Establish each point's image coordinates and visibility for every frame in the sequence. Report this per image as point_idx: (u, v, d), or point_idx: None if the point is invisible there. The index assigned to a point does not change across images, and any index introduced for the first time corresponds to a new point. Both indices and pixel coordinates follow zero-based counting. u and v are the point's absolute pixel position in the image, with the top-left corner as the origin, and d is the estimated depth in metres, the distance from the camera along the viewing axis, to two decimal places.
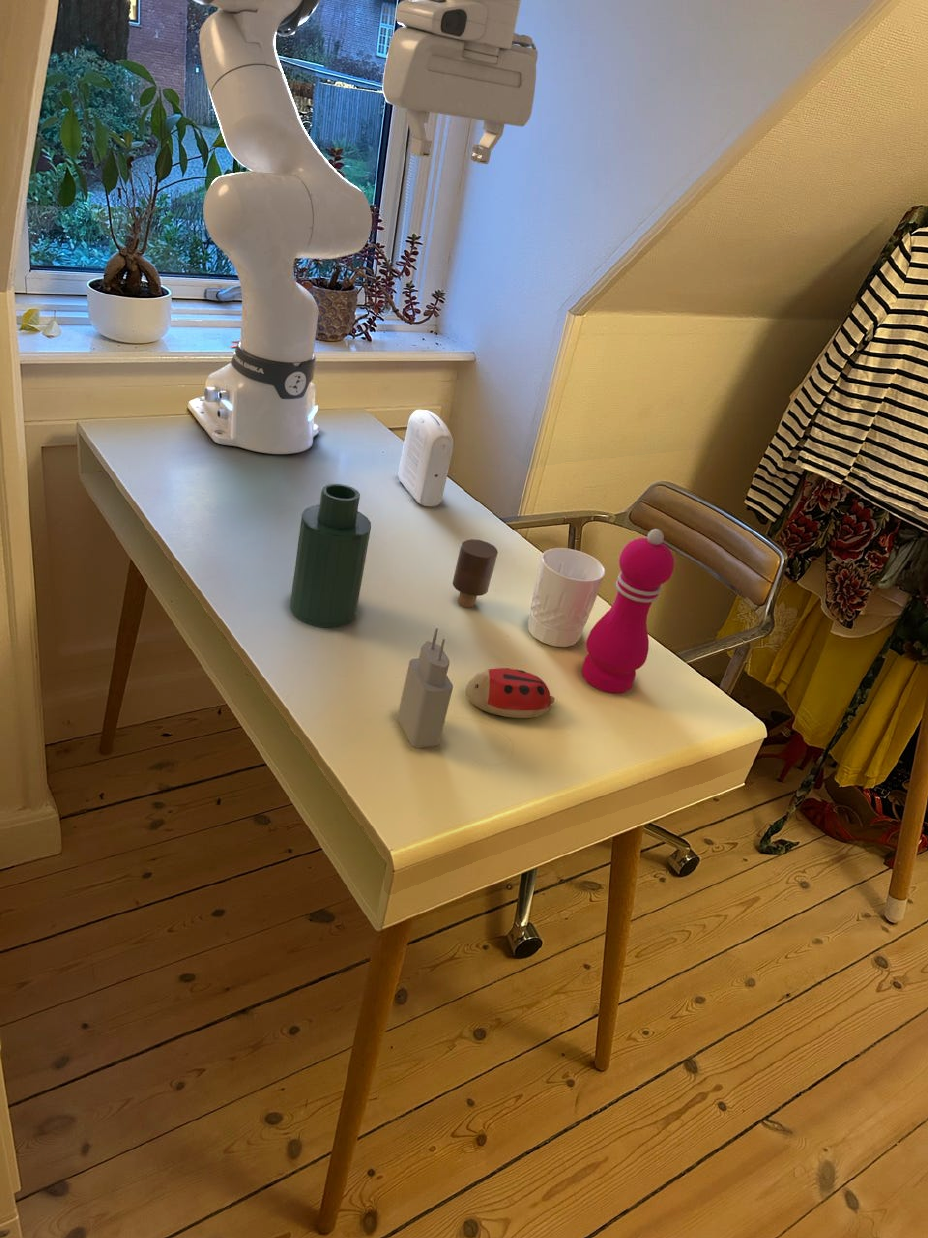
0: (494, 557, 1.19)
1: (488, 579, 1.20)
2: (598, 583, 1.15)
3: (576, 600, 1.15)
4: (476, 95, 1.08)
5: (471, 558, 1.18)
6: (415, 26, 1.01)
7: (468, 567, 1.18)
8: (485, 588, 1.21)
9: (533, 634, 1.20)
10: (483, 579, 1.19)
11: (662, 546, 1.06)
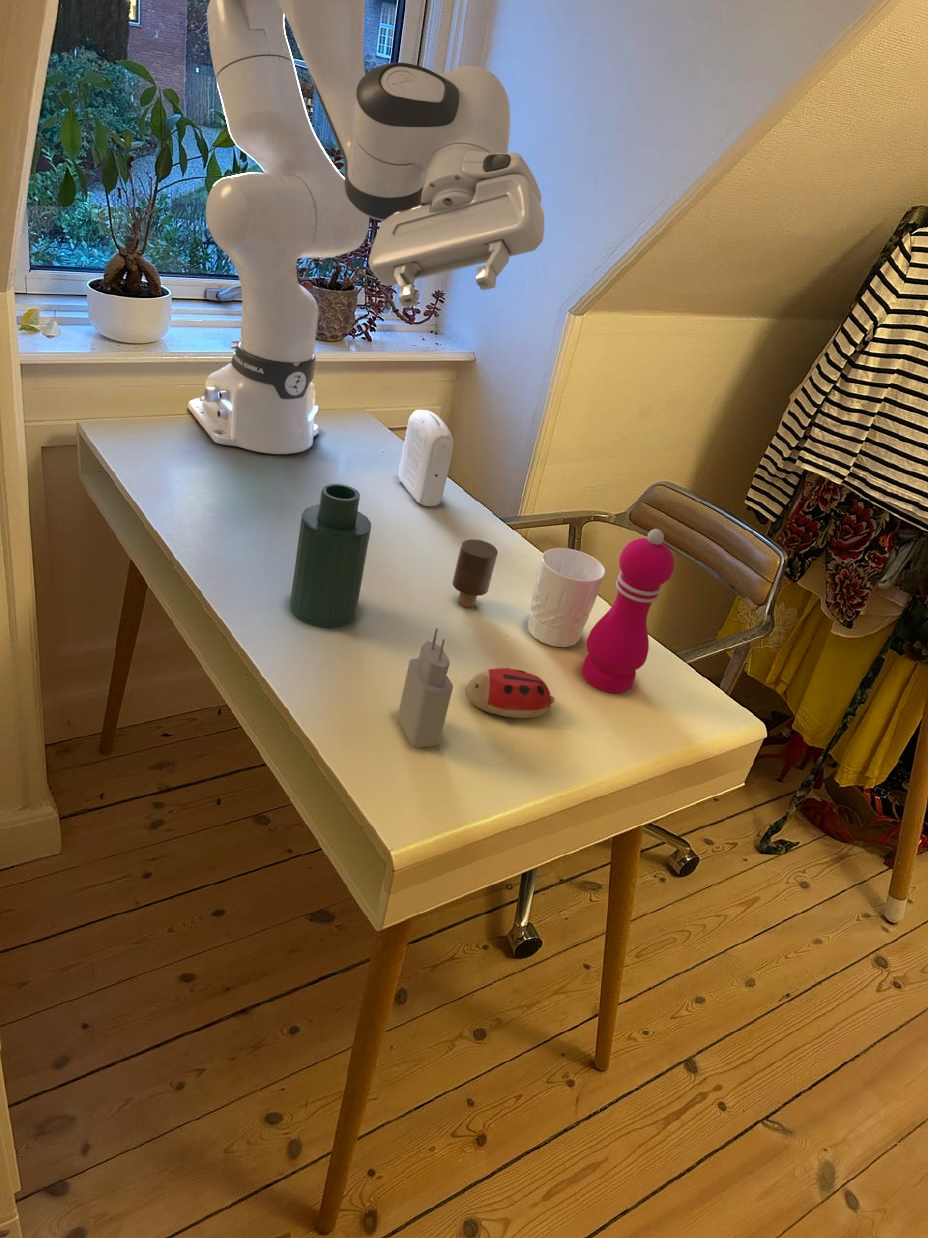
0: (494, 557, 1.19)
1: (488, 579, 1.20)
2: (598, 583, 1.15)
3: (576, 600, 1.15)
4: None
5: (471, 558, 1.18)
6: (531, 189, 1.05)
7: (468, 567, 1.18)
8: (485, 588, 1.21)
9: (533, 634, 1.20)
10: (483, 579, 1.19)
11: (662, 546, 1.06)
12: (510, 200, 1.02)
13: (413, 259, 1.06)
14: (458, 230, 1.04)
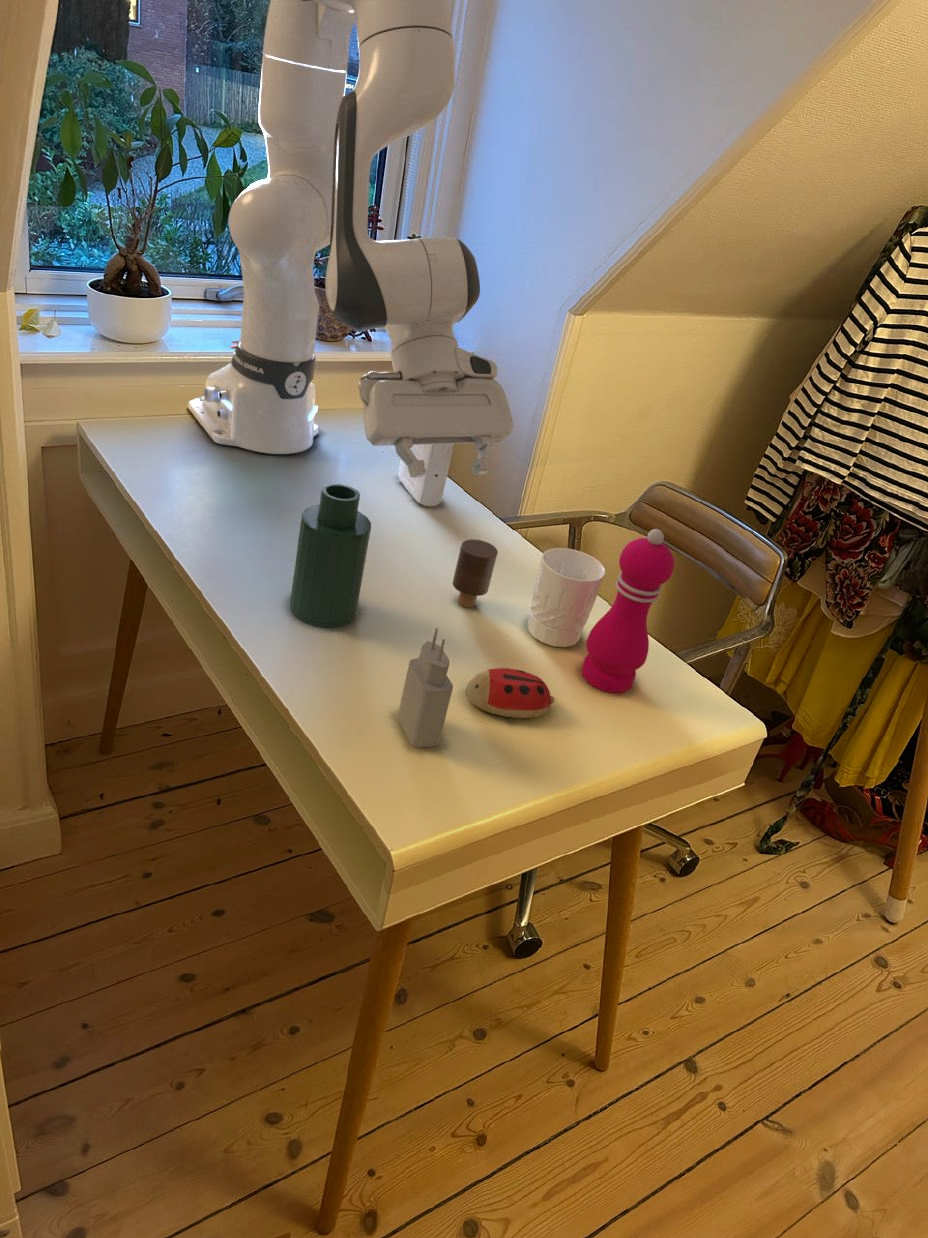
0: (494, 557, 1.19)
1: (488, 579, 1.20)
2: (598, 583, 1.15)
3: (576, 600, 1.15)
4: None
5: (471, 558, 1.18)
6: None
7: (468, 567, 1.18)
8: (485, 588, 1.21)
9: (533, 634, 1.20)
10: (483, 579, 1.19)
11: (662, 546, 1.06)
12: (491, 402, 1.27)
13: (420, 436, 1.21)
14: (456, 419, 1.23)
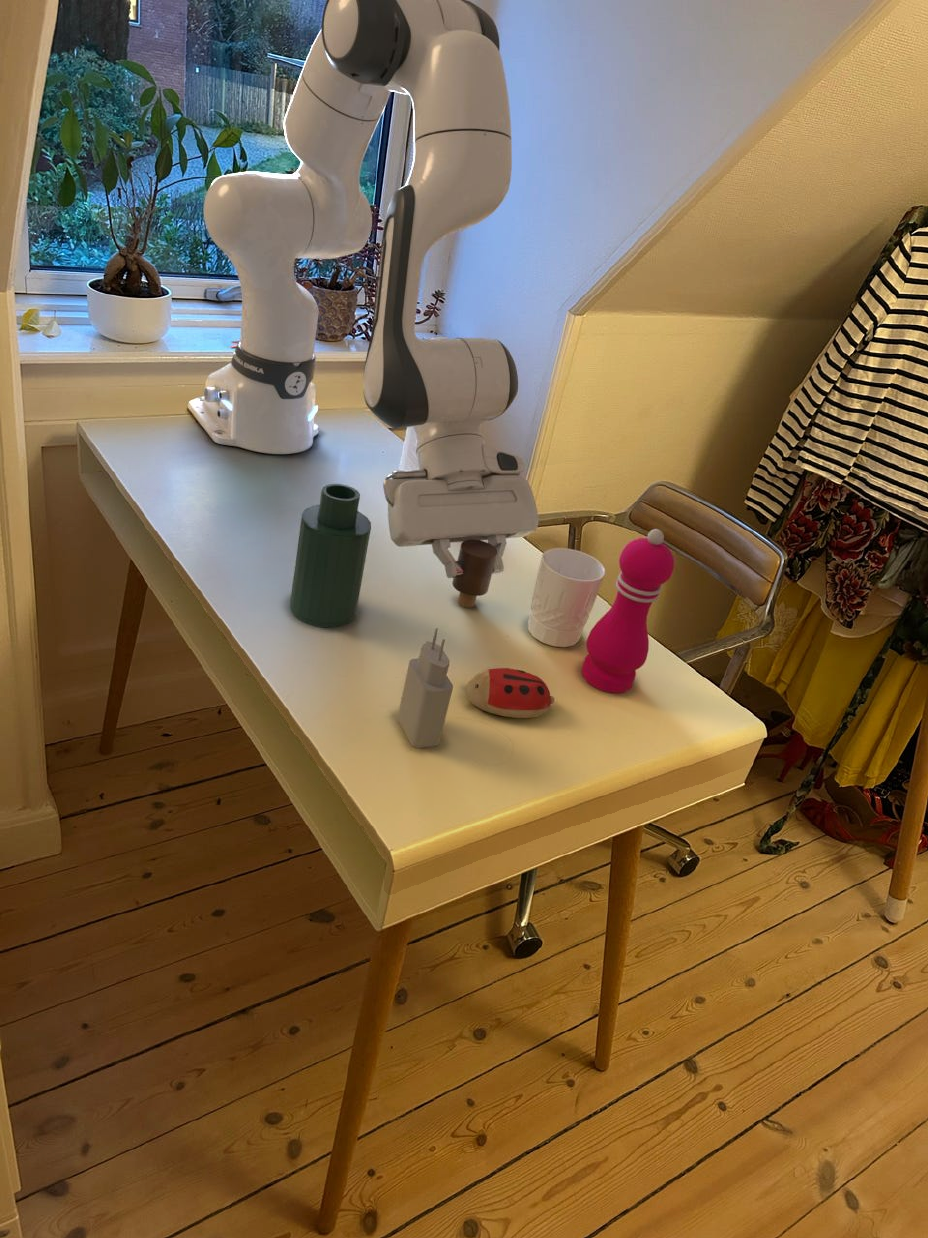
0: (494, 557, 1.19)
1: (488, 579, 1.20)
2: (598, 583, 1.15)
3: (576, 600, 1.15)
4: None
5: (471, 558, 1.18)
6: None
7: (468, 567, 1.18)
8: (485, 588, 1.21)
9: (533, 634, 1.20)
10: (483, 579, 1.19)
11: (662, 546, 1.06)
12: (517, 498, 1.24)
13: (446, 537, 1.18)
14: (482, 518, 1.21)
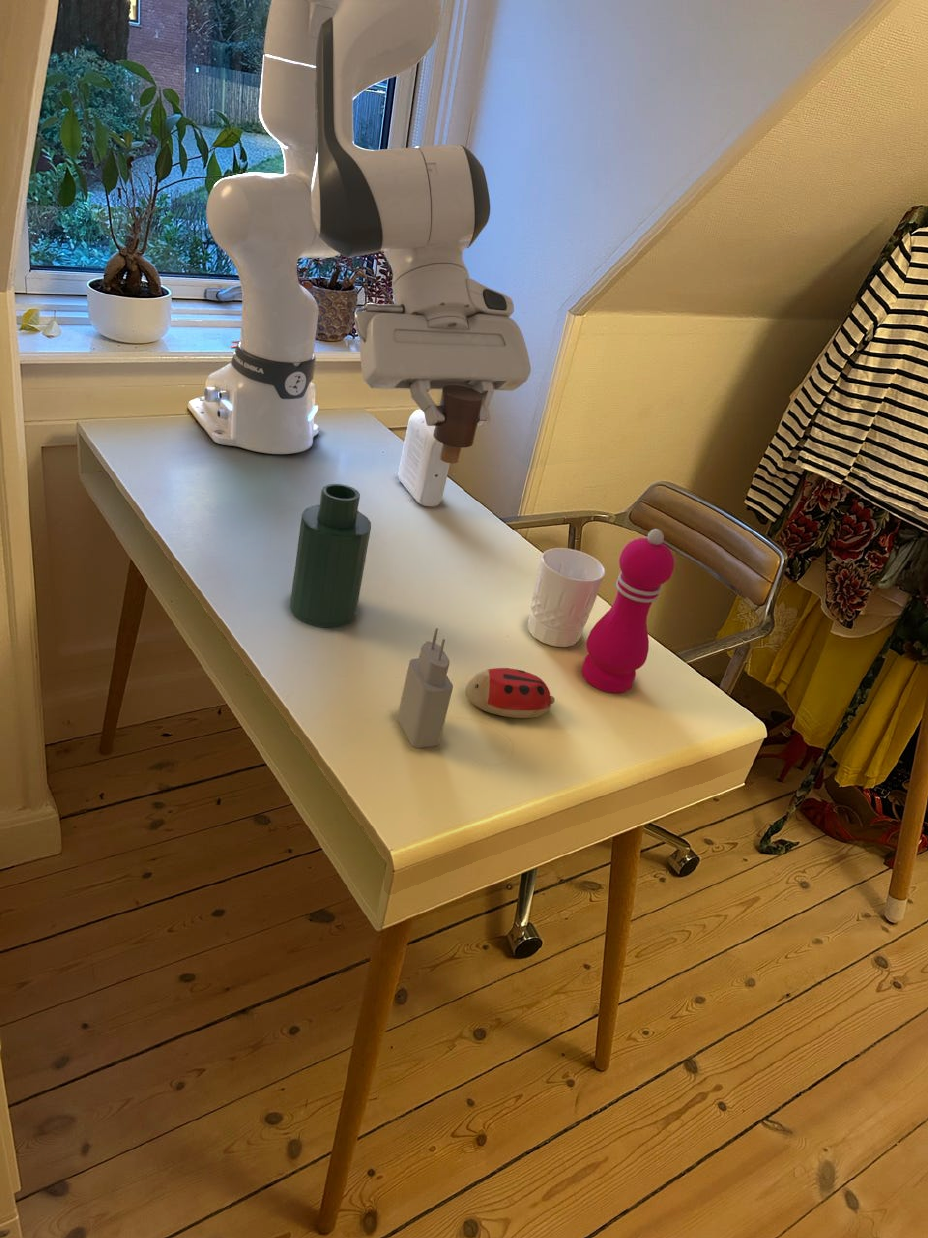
0: (479, 401, 1.05)
1: (473, 428, 1.07)
2: (598, 583, 1.15)
3: (576, 600, 1.15)
4: None
5: (453, 401, 1.05)
6: None
7: (450, 412, 1.05)
8: (469, 439, 1.07)
9: (533, 634, 1.20)
10: (467, 427, 1.06)
11: (662, 546, 1.06)
12: (506, 343, 1.11)
13: (425, 378, 1.05)
14: (467, 360, 1.08)
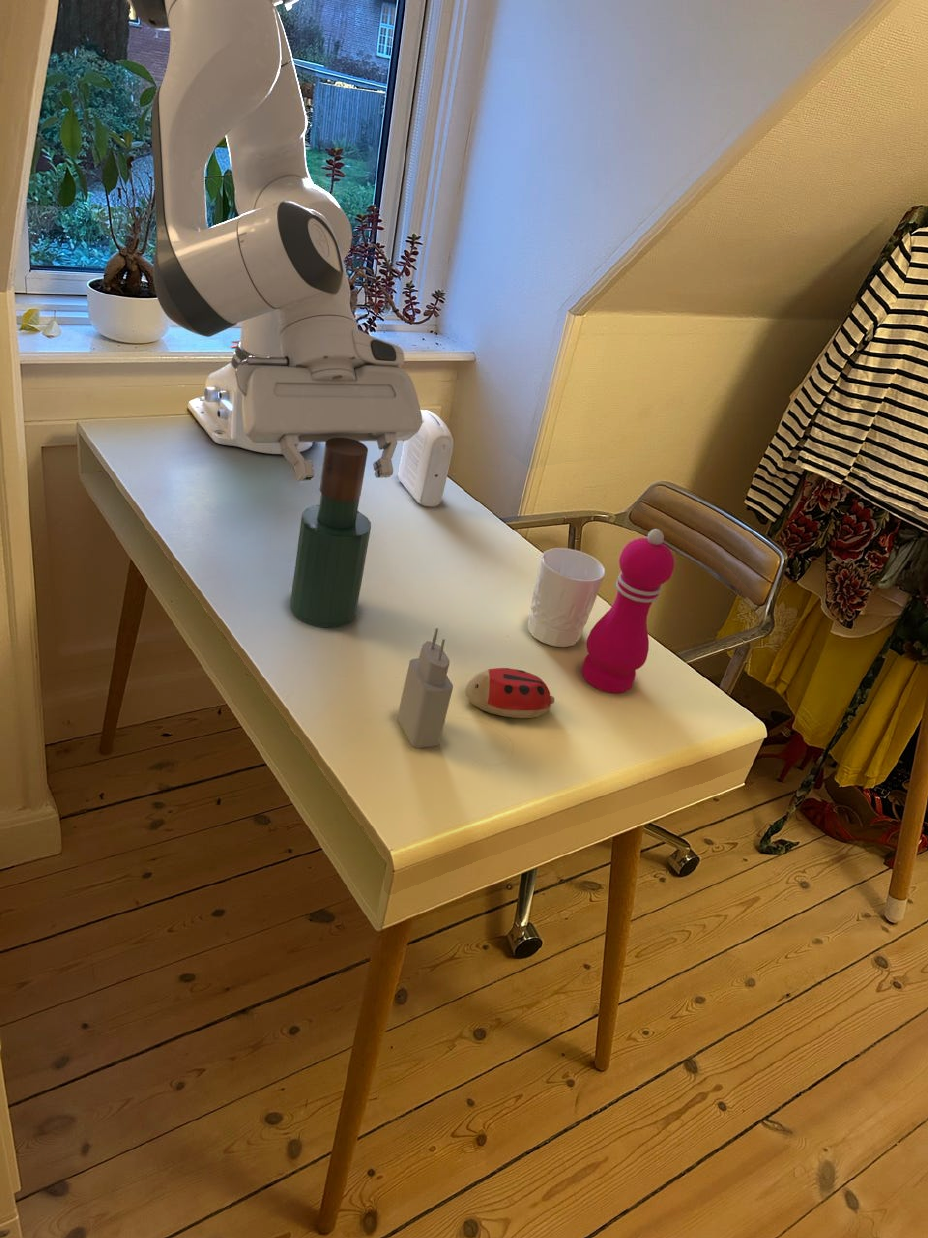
0: (363, 455, 1.04)
1: (358, 482, 1.05)
2: (598, 583, 1.15)
3: (576, 600, 1.15)
4: None
5: (335, 456, 1.03)
6: None
7: (332, 466, 1.03)
8: (354, 493, 1.06)
9: (533, 634, 1.20)
10: (351, 481, 1.04)
11: (662, 546, 1.06)
12: (397, 393, 1.09)
13: (308, 432, 1.03)
14: (353, 413, 1.06)
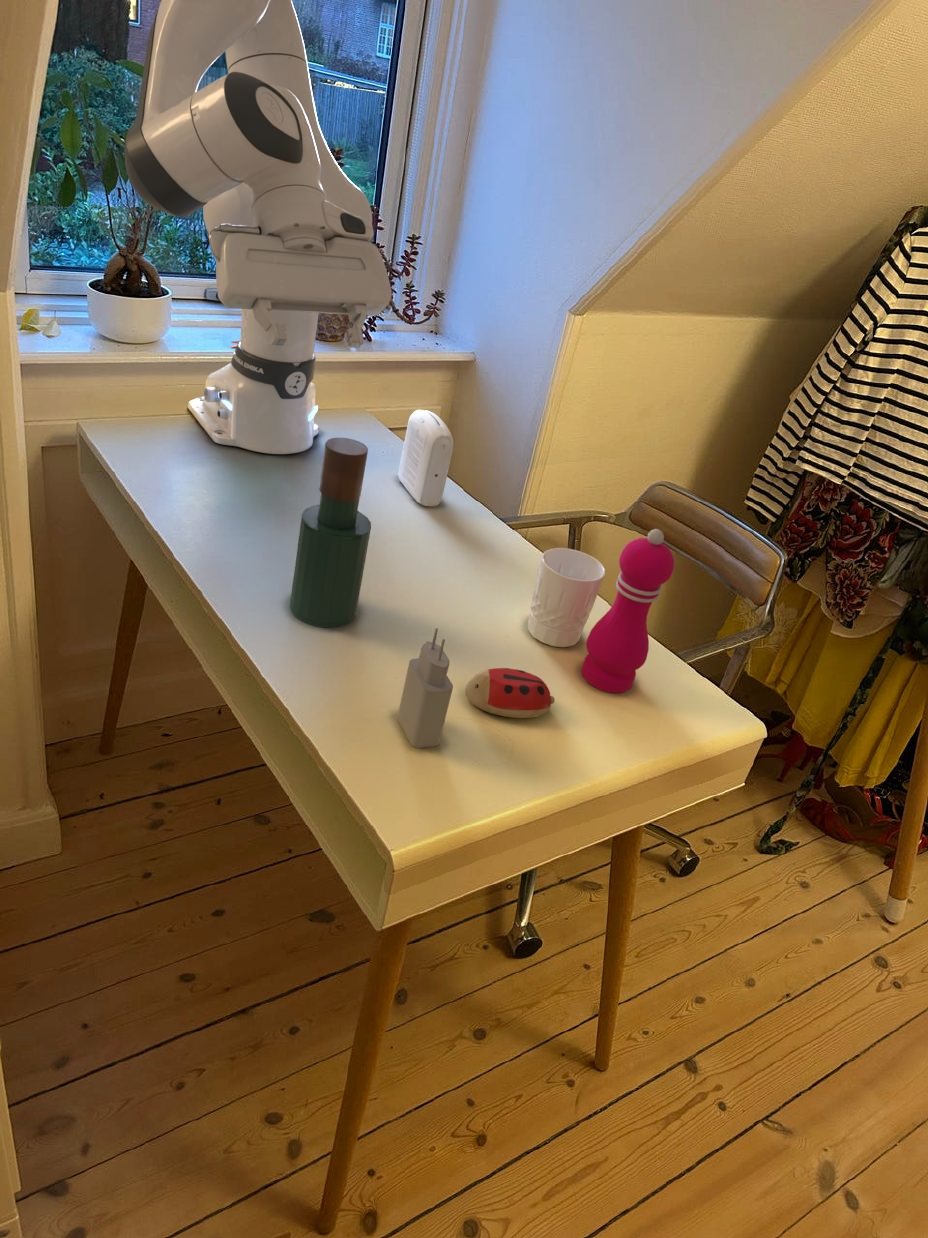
0: (363, 455, 1.04)
1: (358, 482, 1.05)
2: (598, 583, 1.15)
3: (576, 600, 1.15)
4: None
5: (335, 456, 1.03)
6: None
7: (332, 466, 1.03)
8: (354, 493, 1.06)
9: (533, 634, 1.20)
10: (351, 481, 1.04)
11: (662, 546, 1.06)
12: (366, 266, 1.13)
13: (281, 298, 1.07)
14: (324, 282, 1.10)
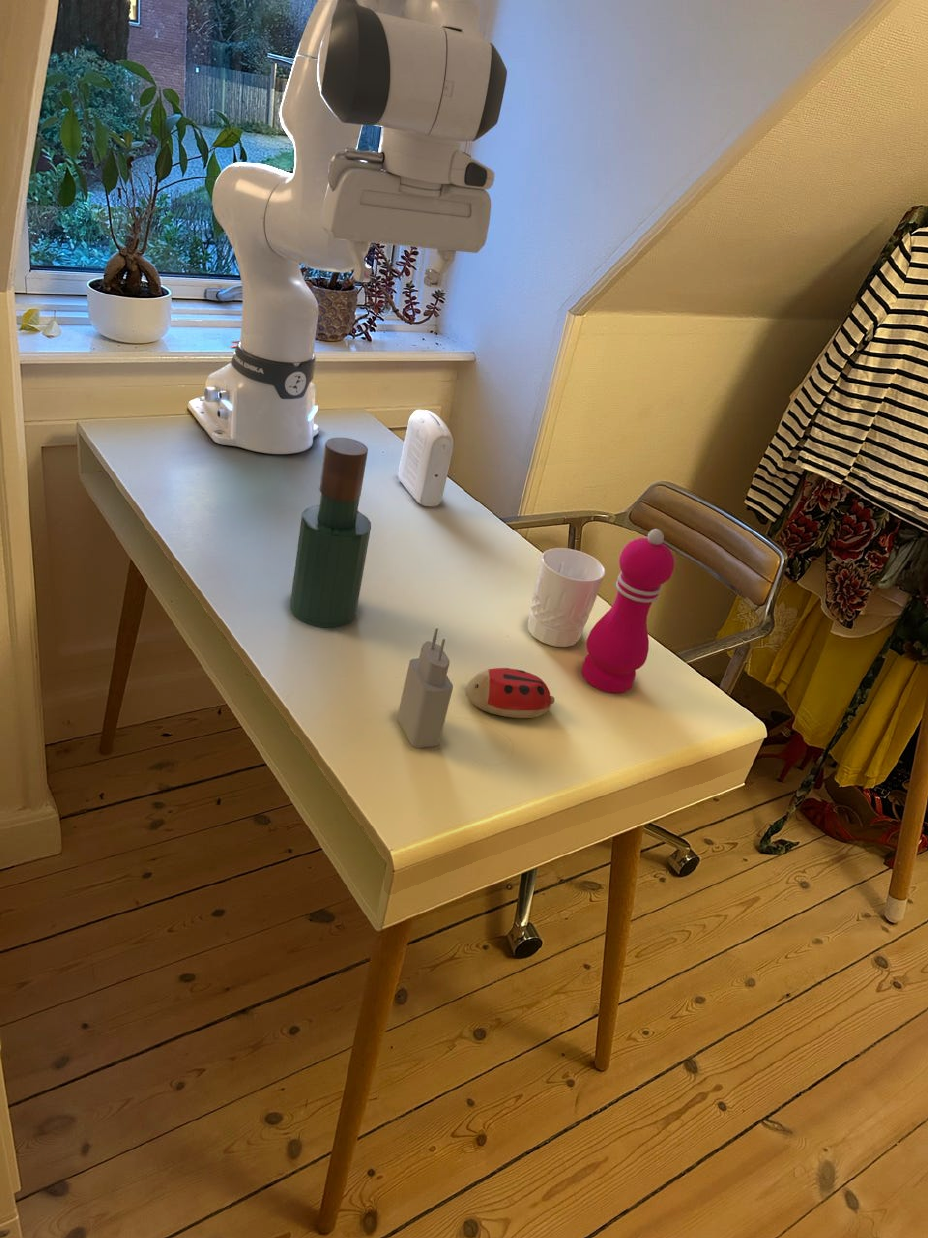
0: (363, 455, 1.04)
1: (358, 482, 1.05)
2: (598, 583, 1.15)
3: (576, 600, 1.15)
4: None
5: (335, 456, 1.03)
6: None
7: (332, 466, 1.03)
8: (354, 493, 1.06)
9: (533, 634, 1.20)
10: (351, 481, 1.04)
11: (662, 546, 1.06)
12: (472, 214, 1.13)
13: None
14: (425, 230, 1.11)
